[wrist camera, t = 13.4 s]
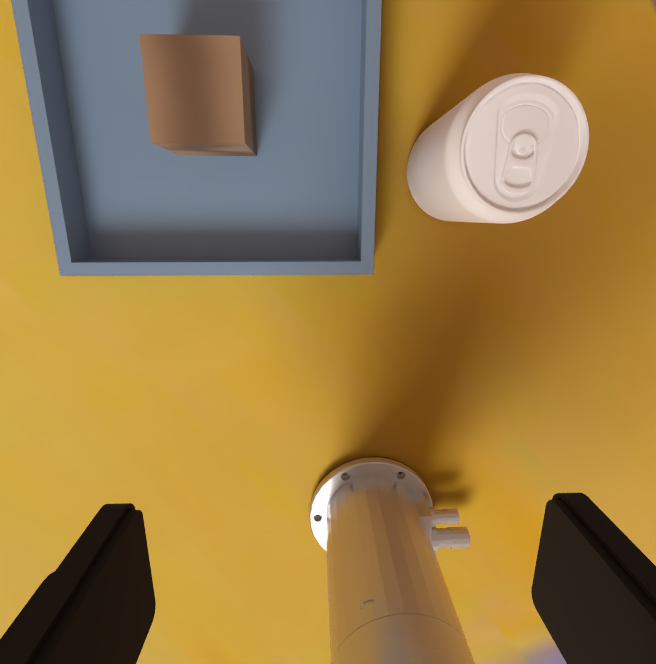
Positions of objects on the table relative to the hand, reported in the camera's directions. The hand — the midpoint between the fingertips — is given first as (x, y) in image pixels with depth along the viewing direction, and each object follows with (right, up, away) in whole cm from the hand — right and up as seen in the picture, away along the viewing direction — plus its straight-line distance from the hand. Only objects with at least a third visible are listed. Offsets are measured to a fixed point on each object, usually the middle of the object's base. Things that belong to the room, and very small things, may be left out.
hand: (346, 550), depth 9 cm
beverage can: (+10, +18, +25) cm, 32 cm away
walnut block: (-9, +22, +22) cm, 32 cm away
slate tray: (-9, +22, +23) cm, 33 cm away
